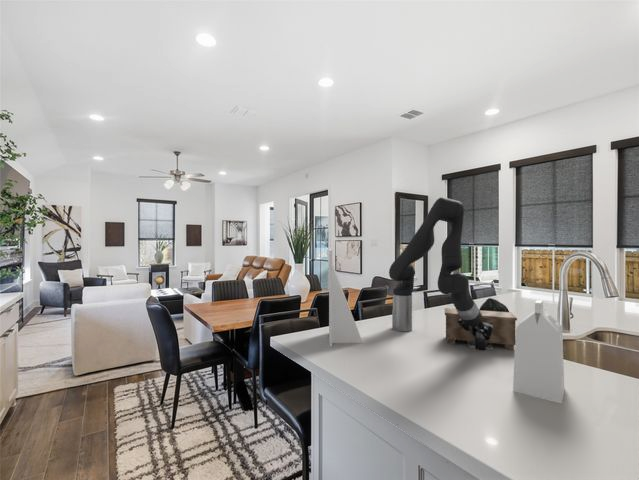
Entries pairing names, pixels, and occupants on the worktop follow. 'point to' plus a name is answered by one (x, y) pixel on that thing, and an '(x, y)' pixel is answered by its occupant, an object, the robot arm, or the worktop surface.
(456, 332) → the cabinet
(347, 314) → the white bracket plate
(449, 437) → the worktop surface
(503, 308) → the squash
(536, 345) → the milk
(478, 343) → the joystick
